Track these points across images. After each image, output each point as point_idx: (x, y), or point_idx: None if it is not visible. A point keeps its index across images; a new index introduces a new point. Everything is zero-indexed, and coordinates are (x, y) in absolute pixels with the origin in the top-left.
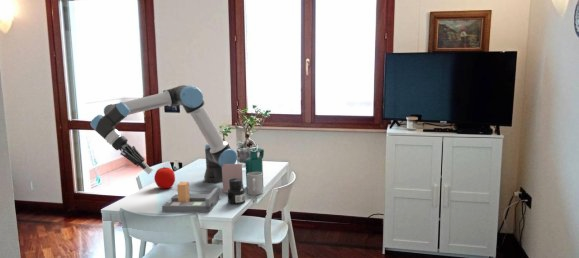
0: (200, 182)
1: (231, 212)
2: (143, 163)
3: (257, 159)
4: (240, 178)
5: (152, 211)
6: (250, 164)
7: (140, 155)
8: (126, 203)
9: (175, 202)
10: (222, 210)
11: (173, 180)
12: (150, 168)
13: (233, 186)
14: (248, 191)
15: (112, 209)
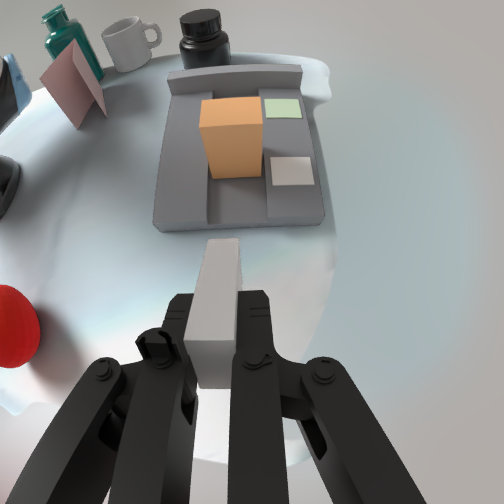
0: (4, 227)
1: (290, 60)
2: (234, 324)
3: (74, 19)
4: (90, 69)
5: (315, 268)
6: (80, 30)
7: (67, 433)
8: (212, 430)
9: (275, 177)
10: None
11: (15, 289)
12: (219, 252)
13: (220, 25)
14: (139, 62)
15: (295, 447)
